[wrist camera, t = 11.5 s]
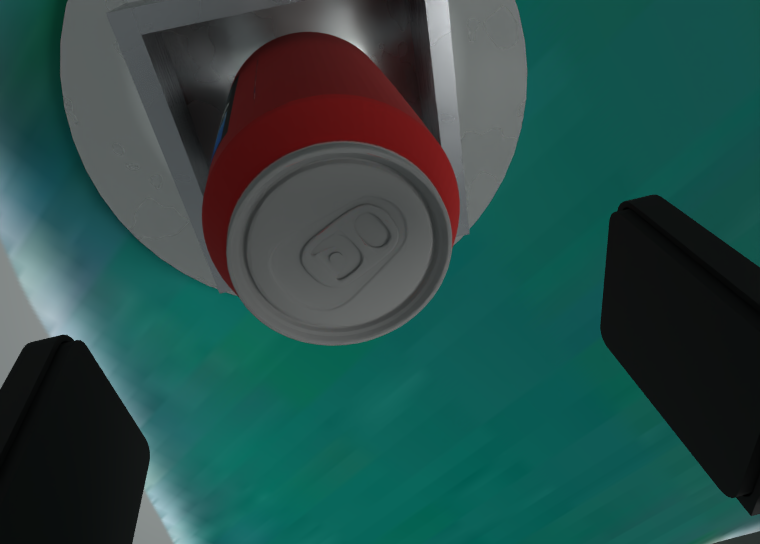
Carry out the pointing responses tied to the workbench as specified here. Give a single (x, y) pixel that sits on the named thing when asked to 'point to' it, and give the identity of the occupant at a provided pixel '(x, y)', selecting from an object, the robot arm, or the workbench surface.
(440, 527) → the workbench surface
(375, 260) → the beverage can
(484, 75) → the rosette plate
